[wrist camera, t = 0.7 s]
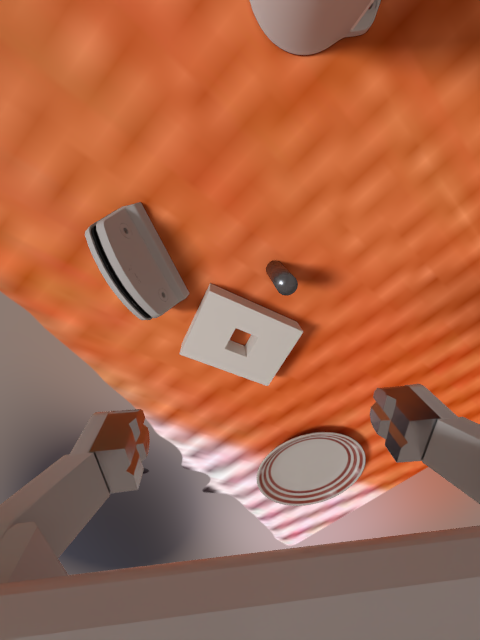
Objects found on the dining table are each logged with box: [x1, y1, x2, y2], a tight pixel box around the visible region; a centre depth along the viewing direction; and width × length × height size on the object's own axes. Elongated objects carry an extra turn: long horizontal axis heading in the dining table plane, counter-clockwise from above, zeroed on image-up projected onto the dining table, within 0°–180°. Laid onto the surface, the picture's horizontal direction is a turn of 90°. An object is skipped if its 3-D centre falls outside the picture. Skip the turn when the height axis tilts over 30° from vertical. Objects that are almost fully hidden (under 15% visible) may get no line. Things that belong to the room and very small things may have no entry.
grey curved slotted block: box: [85, 202, 190, 320], centre depth 40 cm, size 17×5×10 cm, turn 23°
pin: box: [266, 260, 298, 295], centre depth 42 cm, size 3×3×9 cm
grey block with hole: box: [180, 283, 303, 386], centre depth 49 cm, size 13×18×4 cm
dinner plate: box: [257, 432, 366, 506], centre depth 67 cm, size 27×27×3 cm
